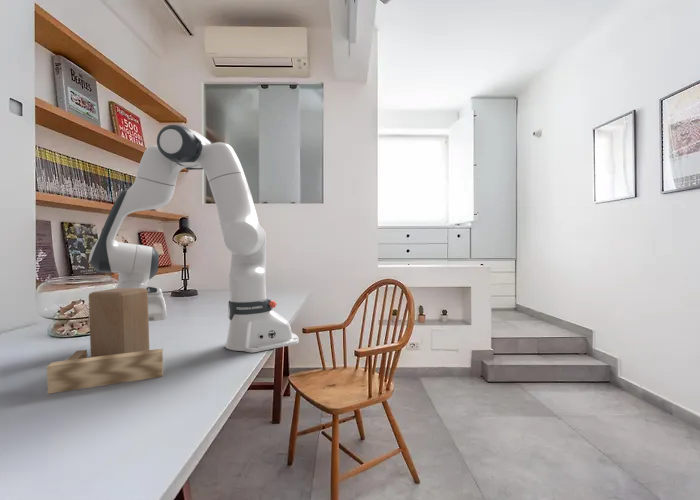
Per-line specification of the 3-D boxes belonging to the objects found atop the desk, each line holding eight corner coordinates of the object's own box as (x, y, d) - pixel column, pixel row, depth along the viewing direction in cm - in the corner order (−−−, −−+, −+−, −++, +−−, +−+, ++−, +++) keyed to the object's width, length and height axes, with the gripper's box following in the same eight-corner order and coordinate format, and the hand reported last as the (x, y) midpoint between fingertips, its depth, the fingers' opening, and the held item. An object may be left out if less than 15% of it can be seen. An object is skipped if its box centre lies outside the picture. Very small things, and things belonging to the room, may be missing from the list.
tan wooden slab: (165, 362, 96) (165, 340, 95) (162, 376, 86) (161, 352, 85) (65, 376, 87) (64, 352, 87) (48, 393, 77) (46, 366, 77)
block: (121, 371, 90) (119, 292, 89) (89, 368, 92) (86, 292, 91) (151, 358, 100) (149, 287, 99) (121, 356, 102) (118, 287, 101)
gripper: (90, 292, 107) (82, 332, 98) (166, 288, 115) (164, 324, 106) (95, 305, 111) (87, 344, 102) (167, 299, 119) (166, 335, 111)
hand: (127, 333), depth 104 cm, fingers closed
